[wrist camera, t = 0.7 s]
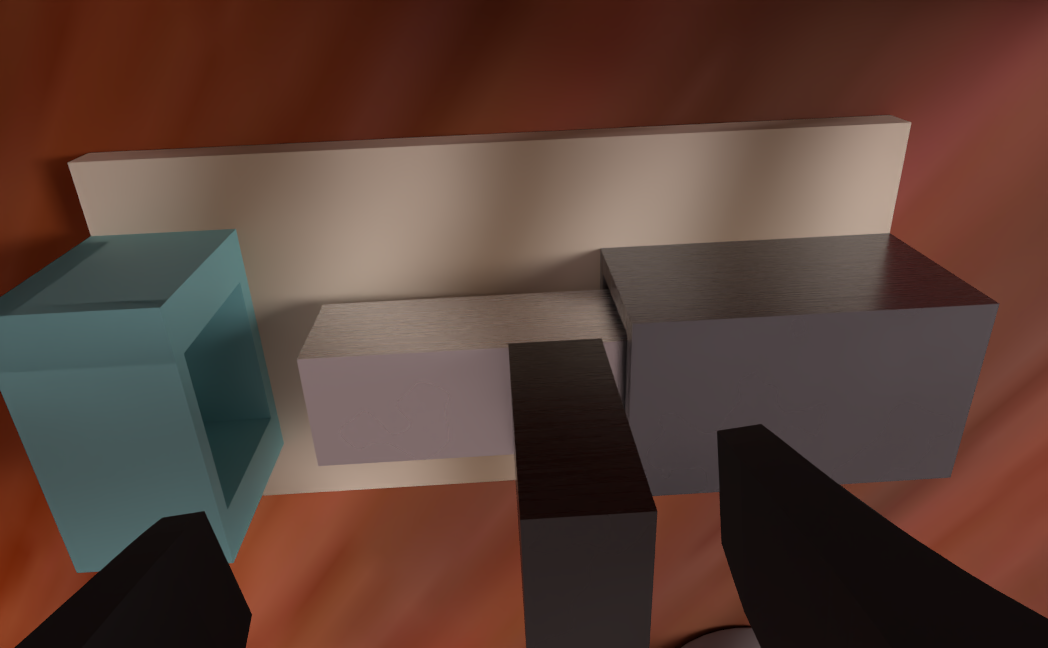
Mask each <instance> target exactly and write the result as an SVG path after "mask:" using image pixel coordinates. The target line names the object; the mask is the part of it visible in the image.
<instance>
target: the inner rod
mask: <svg viewBox="0 0 1048 648" xmlns="http://www.w3.org/2000/svg"><path fill="white" fill-rule="evenodd" d="M297 363H298V368H299V373H300V378H301V383H302V388H303V393H304V398H305V403H306V408H307V413H308V418H309V423H310V428H311V433H312V438H313V443H314V448H315V453H316V458H317V463H318V466H329V465H346V464H362V463H379V462H395V461H412V460H428V459H445V458H461V457H478V456H494V455H511V454H514V462H515V478H516V494H517V510H518V525H519V541H520V557H521V573H522V589H523V604H524V620H525V636H526V648H649V644H650V626H651V609H652V592H653V575H654V558H655V541H656V524H657V509H656V506H655V503H654V500H653V497H652V494H651V490H650V487H649V484H648V481H647V478H646V475H645V472H644V469H643V466H642V463H641V459H640V456H639V453H638V450H637V447H636V444H635V441H634V438H633V435H632V431H631V428H630V425H629V422H628V419H627V416H626V413H625V398H626V365H627V333H626V330H625V328H624V325H623V323H622V320H621V318H620V315H619V312H618V310H617V307H616V305H615V302H614V300H613V297H612V295H611V292H610V290H609V289H603V290H584V291H566V292H547V293H529V294H510V295H492V296H473V297H455V298H436V299H418V300H399V301H381V302H362V303H344V304H325V305H323V306H322V308H321V310H320V312H319V314H318V316H317V318H316V320H315V323H314V325H313V327H312V329H311V331H310V333H309V335H308V337H307V339H306V341H305V343H304V345H303V347H302V349H301V352H300V354H299V356H298V358H297Z"/></svg>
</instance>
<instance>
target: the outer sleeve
mask: <svg viewBox="0 0 1048 648" xmlns="http://www.w3.org/2000/svg"><path fill="white" fill-rule="evenodd" d="M603 289H609V290H610V292H611V295H612V297H613V300H614V302H615V305H616V307H617V310H618V312H619V315H620V318H621V320H622V323H623V325H624V328H625V330H626V333H627V365H626V398H625V413H626V416H627V419H628V422H629V425H630V428H631V431H632V435H633V438H634V441H635V444H636V447H637V450H638V453H639V456H640V459H641V463H642V466H643V469H644V472H645V475H646V478H647V481H648V484H649V487H650V490H651V494H652V496H660V495H676V494H692V493H708V492H719V469H718V445H717V431H719V430H725V429H731V428H738V427H744V426H750V425H757V424H762V425H763V426H765V427H766V428H767V429H769V430H770V431H771V432H773V433H774V434H775V435H777V436H778V437H779V438H780V439H782V440H783V441H784V442H785V443H787V444H788V445H789V446H791V447H792V448H793V449H794V450H796V451H797V452H798V453H799V454H801V455H802V456H803V457H804V458H806V459H807V460H808V461H810V462H811V463H812V464H813V465H815V466H816V467H817V468H819V469H820V470H821V471H822V472H824V473H825V474H826V475H828V476H829V477H830V478H832V479H833V480H834V481H835V482H837V483H838V484H852V483H868V482H884V481H900V480H916V479H932V478H948V477H951V473H952V469H953V466H954V462H955V459H956V455H957V452H958V448H959V445H960V441H961V438H962V434H963V431H964V427H965V423H966V420H967V416H968V413H969V409H970V406H971V402H972V399H973V395H974V392H975V388H976V384H977V381H978V377H979V374H980V370H981V367H982V363H983V360H984V356H985V353H986V349H987V346H988V342H989V338H990V335H991V331H992V328H993V324H994V321H995V317H996V314H997V310H998V307H999V303H997V302H996V301H994V300H993V299H991V298H990V297H988V296H986V295H985V294H983V293H982V292H980V291H979V290H977V289H976V288H974V287H972V286H971V285H969V284H968V283H966V282H965V281H963V280H962V279H960V278H958V277H957V276H955V275H954V274H952V273H951V272H949V271H948V270H946V269H944V268H943V267H941V266H940V265H938V264H937V263H935V262H934V261H932V260H930V259H929V258H927V257H926V256H924V255H923V254H921V253H920V252H918V251H916V250H915V249H913V248H912V247H910V246H909V245H907V244H906V243H904V242H902V241H901V240H899V239H898V238H896V237H895V236H893V235H892V234H890V233H882V234H862V235H843V236H824V237H805V238H786V239H767V240H748V241H728V242H709V243H690V244H671V245H652V246H633V247H614V248H600V290H603Z"/></svg>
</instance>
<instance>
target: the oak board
mask: <svg viewBox="0 0 1048 648" xmlns="http://www.w3.org/2000/svg"><path fill="white" fill-rule="evenodd" d="M910 127H911V122H909V121H906V120H903V119H900V118H897V117H894V116H892V115H880V116H859V117H838V118H817V119H796V120H774V121H753V122H732V123H711V124H690V125H669V126H648V127H626V128H605V129H584V130H563V131H542V132H521V133H500V134H479V135H457V136H436V137H415V138H394V139H373V140H352V141H331V142H309V143H288V144H267V145H246V146H225V147H204V148H183V149H162V150H140V151H119V152H98V153H87V154H85V155H83V156H81V157H79V158H77V159H74V160H72V161H70V162H68V166H69V169H70V172H71V175H72V178H73V182H74V185H75V188H76V191H77V194H78V197H79V200H80V204H81V207H82V210H83V213H84V216H85V219H86V222H87V225H88V229H89V232H90V235H91V236H104V235H124V234H144V233H163V232H183V231H203V230H222V229H236V232H237V236H238V241H239V245H240V250H241V254H242V258H243V263H244V267H245V272H246V276H247V281H248V285H249V290H250V294H251V299H252V303H253V308H254V312H255V316H256V321H257V325H258V330H259V334H260V339H261V343H262V348H263V352H264V357H265V361H266V366H267V370H268V374H269V379H270V383H271V388H272V392H273V397H274V401H275V406H276V410H277V415H278V419H279V423H280V428H281V432H282V437H283V441H284V445H283V447H282V449H281V452H280V454H279V456H278V459H277V461H276V463H275V466H274V468H273V471H272V473H271V475H270V478H269V480H268V482H267V485H266V487H265V489H264V492H263V494H262V495H279V494H295V493H311V492H327V491H344V490H360V489H376V488H392V487H409V486H425V485H441V484H457V483H474V482H490V481H506V480H516V478H515V462H514V454H511V455H494V456H478V457H461V458H445V459H428V460H412V461H395V462H379V463H362V464H346V465H329V466H318V463H317V458H316V453H315V448H314V443H313V438H312V433H311V428H310V423H309V418H308V413H307V408H306V403H305V398H304V393H303V388H302V383H301V378H300V373H299V368H298V363H297V358H298V356H299V354H300V352H301V349H302V347H303V345H304V343H305V341H306V339H307V337H308V335H309V333H310V331H311V329H312V327H313V325H314V323H315V320H316V318H317V316H318V314H319V312H320V310H321V308H322V306H323V305H325V304H344V303H362V302H381V301H399V300H418V299H436V298H455V297H473V296H492V295H510V294H529V293H547V292H566V291H584V290H600V248H614V247H633V246H652V245H671V244H690V243H709V242H728V241H748V240H767V239H786V238H805V237H824V236H843V235H862V234H882V233H890V228H891V223H892V217H893V212H894V207H895V202H896V197H897V192H898V187H899V182H900V177H901V172H902V167H903V162H904V157H905V152H906V147H907V142H908V137H909V132H910Z"/></svg>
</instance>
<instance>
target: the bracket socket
mask: <svg viewBox="0 0 1048 648" xmlns="http://www.w3.org/2000/svg"><path fill="white" fill-rule="evenodd" d="M0 391H1V393H2V396H3V398H4V400H5V403H6V405H7V407H8V410H9V412H10V415H11V417H12V419H13V422H14V424H15V426H16V429H17V431H18V434H19V436H20V438H21V441H22V443H23V446H24V448H25V450H26V453H27V455H28V457H29V460H30V462H31V465H32V467H33V469H34V472H35V474H36V476H37V479H38V481H39V484H40V486H41V488H42V491H43V493H44V496H45V498H46V500H47V503H48V505H49V507H50V510H51V512H52V515H53V517H54V519H55V522H56V524H57V526H58V529H59V531H60V534H61V536H62V538H63V541H64V543H65V546H66V548H67V550H68V553H69V555H70V557H71V560H72V562H73V565H74V567H75V569H76V572H77V573H82V572H97V571H100V570H101V569H103V568H104V567H105V566H106V565H107V564H108V563H109V562H110V561H111V560H113V559H114V558H115V557H116V556H117V555H118V554H119V553H120V552H122V551H123V550H124V549H125V548H126V547H127V546H128V545H129V544H131V543H132V542H133V541H134V540H135V539H136V538H138V537H139V536H140V535H141V534H142V533H143V532H145V531H146V530H147V529H148V528H150V527H151V526H152V525H153V524H155V523H156V522H157V521H158V520H160V519H161V518H163V517H169V516H176V515H182V514H188V513H195V512H201V511H205V513H206V516H207V518H208V520H209V522H210V524H211V526H212V529H213V531H214V533H215V535H216V537H217V540H218V542H219V544H220V546H221V548H222V550H223V553H224V555H225V557H226V559H227V561H228V563H234V560H235V558H236V556H237V553H238V551H239V549H240V546H241V544H242V541H243V539H244V537H245V534H246V532H247V530H248V527H249V525H250V523H251V520H252V518H253V515H254V513H255V511H256V508H257V506H258V504H259V501H260V499H261V497H262V494H263V492H264V489H265V487H266V485H267V482H268V480H269V478H270V475H271V473H272V471H273V468H274V466H275V463H276V461H277V459H278V456H279V454H280V452H281V449H282V447H283V445H284V441H283V437H282V432H281V428H280V423H279V419H278V415H277V410H276V406H275V401H274V397H273V392H272V388H271V383H270V379H269V374H268V370H267V366H266V361H265V357H264V352H263V348H262V343H261V339H260V334H259V330H258V325H257V321H256V316H255V312H254V308H253V303H252V299H251V294H250V290H249V285H248V281H247V276H246V272H245V267H244V263H243V258H242V254H241V250H240V245H239V241H238V236H237V232H236V229H222V230H203V231H183V232H163V233H144V234H124V235H104V236H90V237H89V238H87V239H86V240H84V241H83V242H82V243H80V244H79V245H77V246H76V247H74V248H73V249H71V250H70V251H68V252H67V253H65V254H64V255H62V256H61V257H59V258H58V259H56V260H55V261H53V262H52V263H50V264H49V265H47V266H46V267H44V268H43V269H41V270H40V271H38V272H37V273H35V274H34V275H33V276H31V277H30V278H28V279H27V280H25V281H24V282H22V283H21V284H19V285H18V286H16V287H15V288H13V289H12V290H10V291H9V292H7V293H6V294H4V295H3V296H1V297H0Z"/></svg>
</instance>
